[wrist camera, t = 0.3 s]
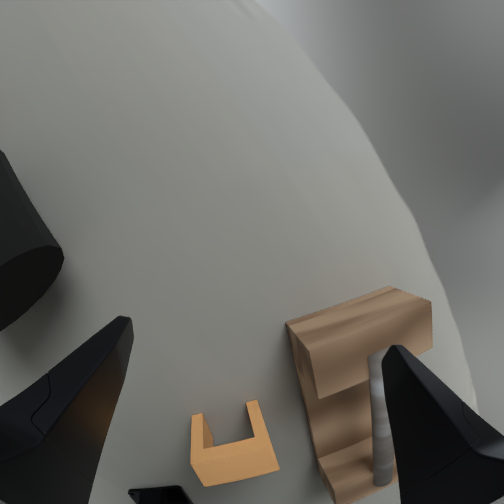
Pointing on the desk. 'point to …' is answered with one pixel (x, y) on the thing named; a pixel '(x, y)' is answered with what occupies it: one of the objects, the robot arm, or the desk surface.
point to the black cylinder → (22, 249)
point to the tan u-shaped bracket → (231, 452)
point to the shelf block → (355, 384)
